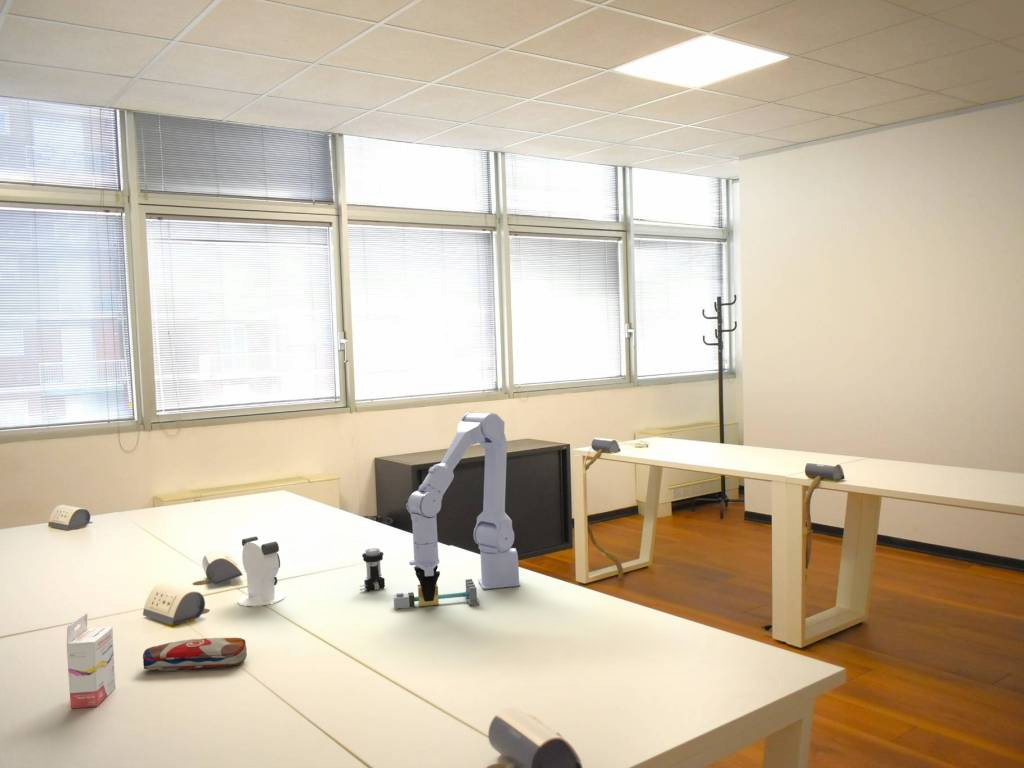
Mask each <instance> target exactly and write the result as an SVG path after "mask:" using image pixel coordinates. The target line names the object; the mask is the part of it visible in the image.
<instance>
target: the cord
mask: <svg viewBox="0 0 1024 768" xmlns="http://www.w3.org/2000/svg"><path fill="white" fill-rule="evenodd" d="M465 596H468V592H466V591H463V592H454V593H444V594H438V600H443V599H452V598H453V599H455V598H462V597H463V598H465ZM414 602H419V597H418V596H414Z"/></svg>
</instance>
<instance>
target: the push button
mask: <svg viewBox="0 0 1024 768" xmlns="http://www.w3.org/2000/svg"><path fill="white" fill-rule="evenodd" d="M361 555H362V560H363V561H364V562H365V564H366V577H365V579H364V584H362V585H361V584H360V585H359V587H361V588H360V589H359V591H364V590H365V591H367V592H370V590H372V591H375V590H376V589H377V590H380V589H379V588H381V589H382V588H383V589H385V588H386V584H385V583H386V582H385V579H386V578H385V577H382V573H381V572H382V571H381V561H382V560H383V559H384V558H383V556H384V552H383V551H380V548H375V547H374V548H368V549H365V552H363V554H361ZM362 587H363V588H362ZM384 587H385V588H384ZM374 589H375V590H374ZM377 590H376V591H377Z"/></svg>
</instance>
